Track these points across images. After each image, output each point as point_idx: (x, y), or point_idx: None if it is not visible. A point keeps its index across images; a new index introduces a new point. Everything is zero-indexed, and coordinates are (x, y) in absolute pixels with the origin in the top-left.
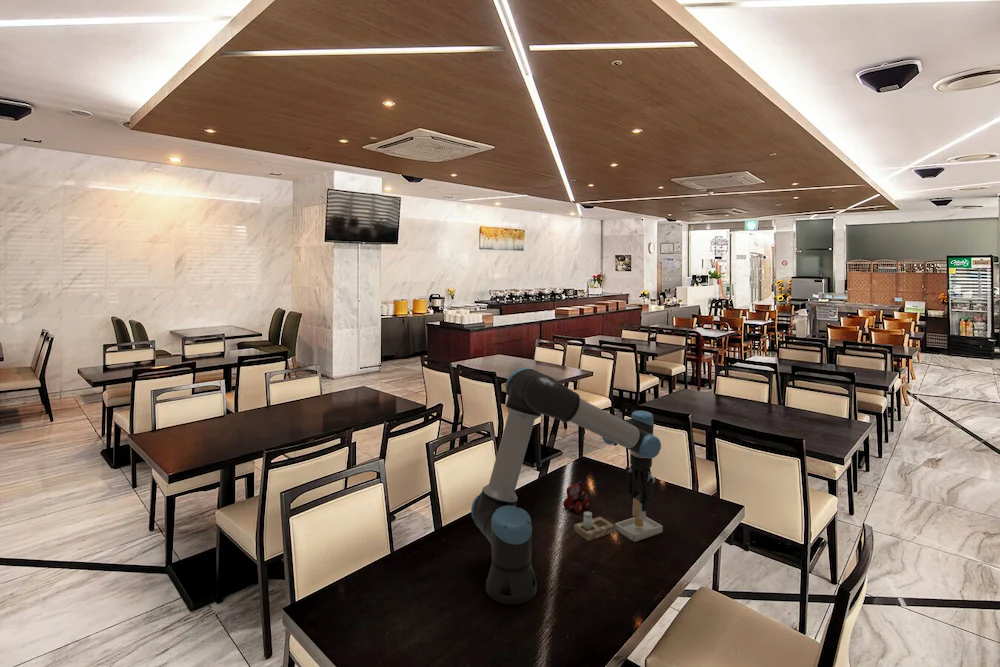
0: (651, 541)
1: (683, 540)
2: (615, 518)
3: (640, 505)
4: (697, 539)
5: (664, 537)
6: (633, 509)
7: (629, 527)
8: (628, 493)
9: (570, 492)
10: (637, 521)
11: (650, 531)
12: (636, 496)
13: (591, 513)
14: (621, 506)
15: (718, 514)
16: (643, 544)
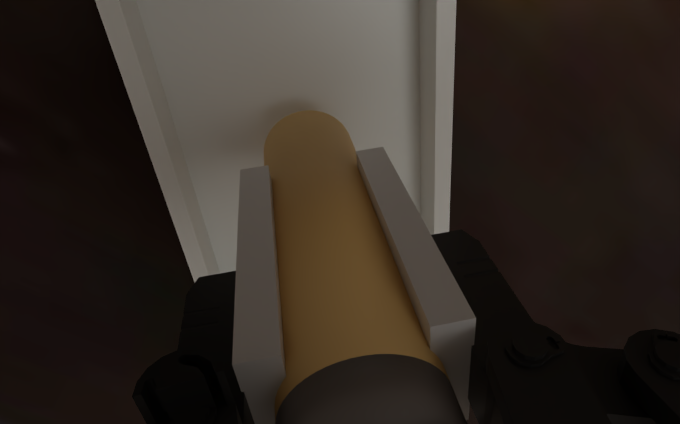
0: (82, 123)
1: (57, 348)
2: (589, 63)
3: (244, 311)
4: (57, 419)
5: (131, 259)
6: (390, 194)
7: (370, 70)
8: (661, 335)
9: None
10: (286, 143)
11: (167, 190)
12: (405, 416)
13: None
14: (677, 225)
15: None
16: (29, 5)
